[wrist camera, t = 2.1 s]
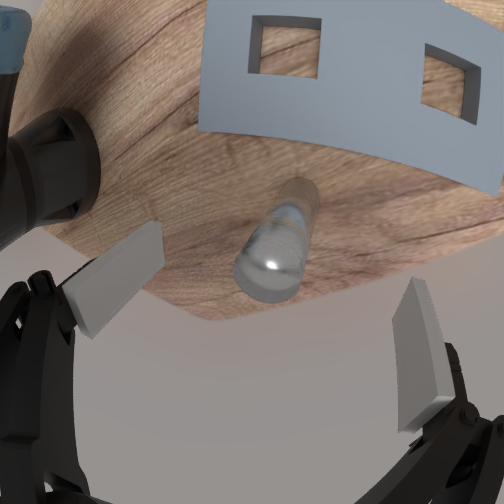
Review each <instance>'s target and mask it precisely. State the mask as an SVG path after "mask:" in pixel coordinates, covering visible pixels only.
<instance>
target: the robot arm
mask: <svg viewBox="0 0 504 504" xmlns="http://www.w3.org/2000/svg"><path fill="white" fill-rule="evenodd" d="M31 28H32V19H31V16H30V15H29V14H28V13H27V12H26V11H25V10H22V9H18V8H13V7H8V6H0V251H1V250H3V249H4V248H5V247H7V246H8V245H10V244H11V243H12V242H14V241H15V240H17V239H18V238H19V237H21V236H22V235H24V234H25V233H27V232H28V231H30V230H32V229H33V228H35V227H39V226H44V225H50V224H56V223H61V222H67V221H71V220H74V219H76V218H77V217H79V216H81V215H82V214H84V213H86V212H87V211H88V210H89V209H90V208H91V207H92V205H93V204H94V202H95V199H96V197H97V193H98V189H99V182H100V164H99V156H98V151H97V146H96V143H95V140H94V137H93V134H92V132H91V130H90V128H89V126H88V124H87V123H86V121H85V120H84V118H83V117H82V116H81V115H80V114H79V113H77V112H76V111H74V110H72V109H69V108H61V109H56V110H52V111H48V112H46V113H44V114H42V115H41V116H39V117H38V118H36V119H35V120H33V121H32V122H30V123H29V124H28V125H26V126H25V127H23V128H22V129H21V130H19V131H18V132H17V133H15V134H14V135H12V136H10V137H8V131H9V123H10V116H11V110H12V104H13V99H14V94H15V89H16V84H17V80H18V76H19V72H20V71H21V69H22V66H23V64H24V59H23V56H24V53H25V49H26V45H27V42H28V39H29V35H30V32H31ZM164 265H165V258H164V249H163V239H162V228H161V222H157V221H152V220H149V221H148V222H146V223H145V224H143V225H142V226H141V227H139V228H138V229H136V230H135V231H133V232H132V233H131V234H129V235H128V236H126V237H125V238H124V239H122V240H121V241H119V242H118V243H117V244H115V245H114V246H112V247H111V248H110V249H108V250H107V251H106V252H104V253H103V254H102V255H100V256H99V257H97V258H95V259H92V260H90V261H89V262H87V263H86V264H85V265H83V266H82V268H80V269H78V270H77V272H74V273H73V274H72V275H71V276H69V277H68V278H67V279H66V280H64V281H63V282H62V283H61V284H60V285H58V286H57V287H56V285H55V283H54V280H53V277H52V274H51V273H50V271H47V270H41V271H38V272H36V273H34V274H32V275H31V276H30V277H29V279H28V280H27V281H28V284H29V287H30V289H31V291H29V288H28V286H27V284H26V283H25V282H23V281H20V282H16V283H14V284H13V285H11V286H10V287H9V288H8V290H7V291H6V293H5V294H4V296H3V297H2V299H1V301H0V491H1V497H0V504H111V503H109V502H105V501H103V500H100V499H97V498H94V497H91V496H90V491H89V487H88V483H87V479H86V476H85V474H84V472H83V471H82V469H81V468H80V466H79V462H78V457H77V448H76V439H75V428H74V411H73V362H74V344H75V330H74V327H75V326H76V325H78V327H79V329H80V331H81V333H82V334H84V335H85V336H87V337H89V338H91V339H93V338H94V337H95V336H96V335H97V334H98V333H99V331H101V330H102V328H103V327H104V326H105V325H106V324H107V323H108V322H109V321H110V320H111V319H112V318H113V317H114V316H115V315H116V314H117V313H118V312H119V311H120V310H121V308H122V307H123V306H124V305H125V304H126V303H127V302H128V301H129V300H130V299H131V298H132V297H133V296H134V295H135V294H136V293H137V292H138V291H139V290H140V289H141V288H142V287H143V286H144V285H145V284H146V283H147V282H148V281H149V280H150V279H151V278H152V277H153V276H154V275H155V274H156V273H157V272H158V271H159V270H160V269H161V268H162V267H163V266H164ZM17 319H19V321H20V323H21V325H22V326H21V328H20V329H19V328H18V326H17V325H16V323H15V322H16V320H17ZM392 324H393V332H394V342H395V352H396V365H397V382H398V433H415V432H417V431H418V430H419V429H420V428H422V427H423V435H422V436H420V437H419V438H418V439H417V440H415V441H414V442H413V443H411V444H410V445H409V446H410V447H411V446H412V445H413V446H412V447H411V448H410V449H409V450H408V451H407V453H406V454H405V455H404V456H403V457H402V458H401V459H400V460H399V462H398V463H397V464H396V465H395V466H394V467H393V468H392V469H391V470H390V471H389V472H388V473H387V474H386V475H385V476H384V477H383V478H382V479H381V480H380V481H379V482H378V483H377V484H376V485H375V486H374V487H373V488H371V489H370V490H369V491H368V492H367V493H366V494H365V495H364V496H363V497H362V498H360V499H359V500H358V501H357V502H356V503H355V504H428V503H429V502H430V501H431V500H432V501H431V503H430V504H495V502H496V499H497V497H498V494H499V491H500V488H501V484H502V481H503V478H504V415H500V416H498V417H497V418H495V419H494V420H493V421H489V420H487V419H484V418H481V417H480V415H479V412H478V410H477V408H476V407H475V406H474V404H472V403H470V402H468V400H467V394H466V389H465V384H464V379H463V375H462V373H461V371H462V370H461V366H460V365H459V363H460V362H459V358H458V354H457V352H456V350H455V349H454V347H453V345H452V344H451V343H445V342H444V340H443V337H442V332H441V329H440V326H439V322H438V319H437V315H436V312H435V309H434V306H433V303H432V299H431V297H430V294H429V291H428V288H427V285H426V282H425V280H422V279H417V278H413V277H411V280H410V282H409V284H408V287H407V289H406V291H405V293H404V295H403V298H402V300H401V302H400V304H399V306H398V308H397V310H396V312H395V314H394V316H393V318H392ZM44 482H46V483H48V484H49V485H50V486H51V487H52V489H53V491H52V492H45V485H44ZM432 498H433V499H432Z"/></svg>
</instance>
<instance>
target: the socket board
mask: <svg viewBox="0 0 504 504" xmlns="http://www.w3.org/2000/svg"><path fill="white" fill-rule="evenodd" d="M263 26H281V27H298V28H310V29H319V30H321V39H320V53H319V65H318V76H317V79H312V78H304V77H295V76H285V75H271V74H259V69H260V57H261V45H262V33H263ZM425 54H426V55H429V56H431V57H434V58H437V59H439V60H442V61H444V62H446V63H449V64H451V65H454V66H456V67H458V68H460V69H462V70H465V86H464V98H463V107H462V115H461V119H460V118H457V117H455V116H453V115H450V114H448V113H445V112H443V111H440V110H437V109H435V108H432V107H429V106H426V105H423V104H420V103H421V95H422V85H423V73H424V55H425ZM198 131H204V132H221V133H235V134H246V135H256V136H265V137H273V138H281V139H288V140H295V141H302V142H308V143H314V144H319V145H325V146H330V147H335V148H340V149H345V150H350V151H354V152H359V153H363V154H367V155H372V156H376V157H380V158H384V159H387V160H391V161H395V162H398V163H402V164H405V165H409V166H412V167H416V168H419V169H422V170H425V171H428V172H431V173H434V174H437V175H440V176H443V177H446V178H449V179H452V180H454V181H457V182H460V183H462V184H465V185H468V186H470V187H473V188H475V189H478V190H480V191H483V192H485V193H487V194H490V195H492V196H494V197H496V198H497V196H498V192H499V189H500V185H501V181H502V177H503V173H504V33H503V32H502V31H500V30H498V29H497V28H495V27H493V26H492V25H490V24H488V23H487V22H485V21H483V20H481V19H479V18H478V17H476V16H474V15H472V14H470V13H468V12H466V11H464V10H462V9H460V8H458V7H456V6H453V5H451V4H449V3H447V2H444V1H442V0H208V1H207V9H206V18H205V28H204V38H203V50H202V62H201V77H200V94H199V117H198Z"/></svg>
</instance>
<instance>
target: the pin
mask: <svg viewBox="0 0 504 504" xmlns="http://www.w3.org/2000/svg"><path fill="white" fill-rule="evenodd" d="M319 199H320V195H319V191H318V188H317V187H316V185H315V184H314V183H313V182H311V181H310V180H308V179H305V178H294V179H292V180H290V181H288V182H287V183H286V184H285V186H284V187H283V189H282V190H281V192H280V193H279V195H278V196H277V198H276V199H275V201H274V202H273V204H272V205H271V207H270V208H269V210H268V211H267V213H266V214H265V216H264V217H263V219H262V220H261V222H260V223H259V225H258V226H257V228H256V229H255V231H254V232H253V234H252V235H251V237H250V238H249V240H248V241H247V243H246V244H245V246H244V247H243V249H242V250H241V252H240V253H239V255H238V256H237V258H236V260H235V262H234V267H233V273H234V277H235V280H236V282H237V284H238V286H239V287H240V288H241V290H242V291H243V292H244V293H245V294H247V295H248V296H250V297H251V298H253V299H255V300H257V301H260V302H263V303H270V304H275V303H281V302H284V301H287V300H289V299H290V298H292V297H293V296H294V295H295V294H296V293H297V291H298V290H299V287H300V284H301V280H302V276H303V272H304V268H305V264H306V259H307V255H308V251H309V246H310V242H311V237H312V233H313V228H314V223H315V219H316V214H317V209H318V204H319Z"/></svg>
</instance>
